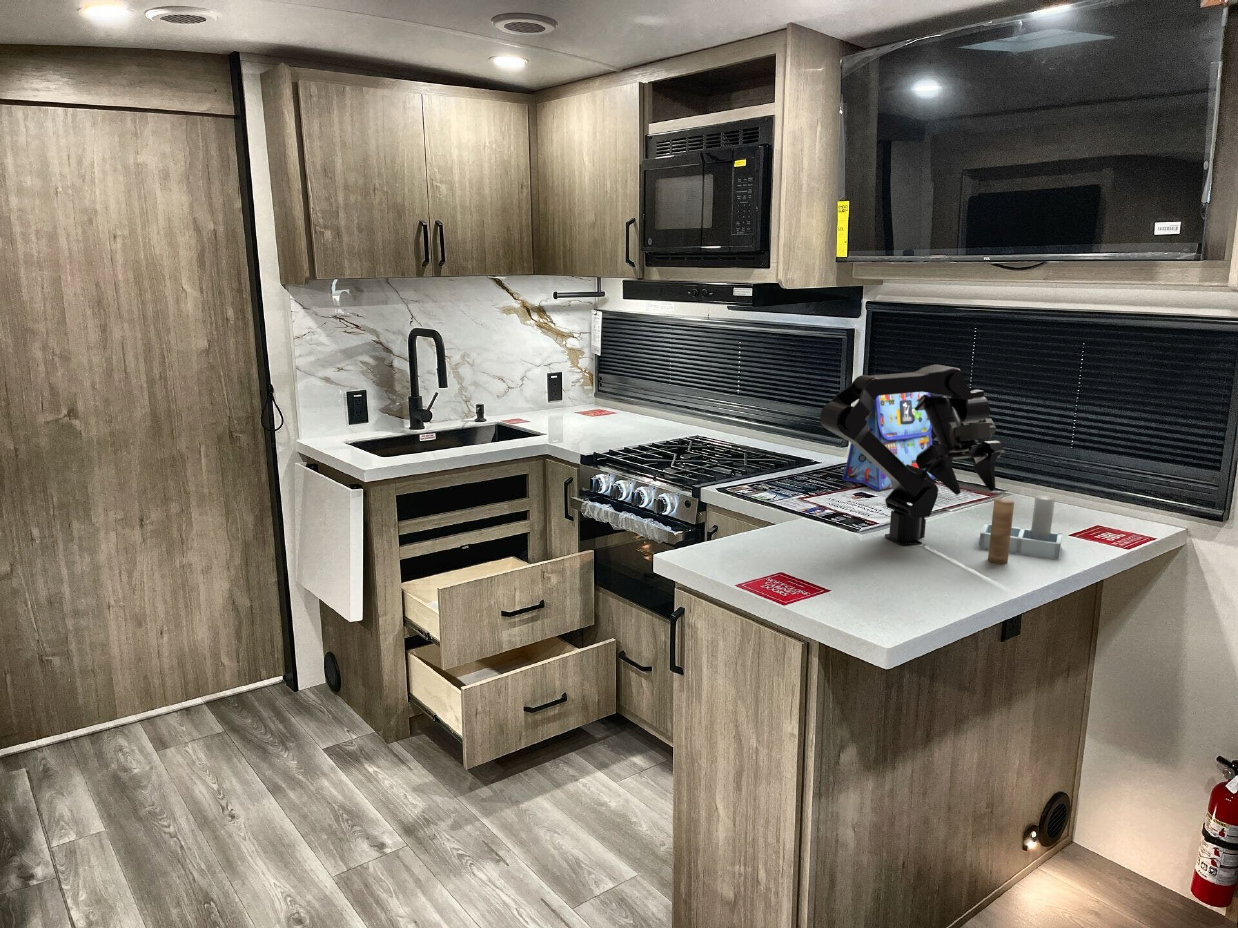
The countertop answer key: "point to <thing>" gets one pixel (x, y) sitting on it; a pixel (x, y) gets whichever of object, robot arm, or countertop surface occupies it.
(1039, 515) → the grey peg
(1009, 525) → the walnut peg
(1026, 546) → the slot rack
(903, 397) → the lunch bag
